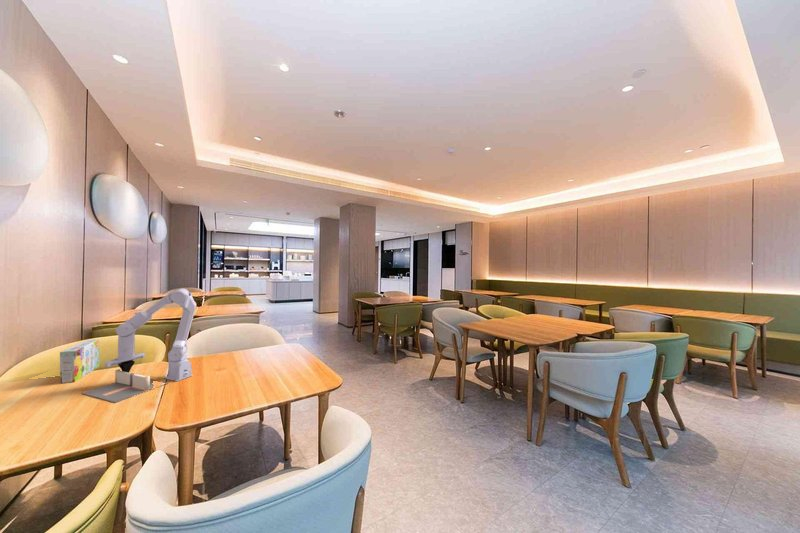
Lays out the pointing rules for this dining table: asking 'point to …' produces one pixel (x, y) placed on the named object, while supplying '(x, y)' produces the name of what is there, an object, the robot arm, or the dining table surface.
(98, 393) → the card
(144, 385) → the fixed fence section
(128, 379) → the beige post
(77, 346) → the snack box
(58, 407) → the dining table surface
